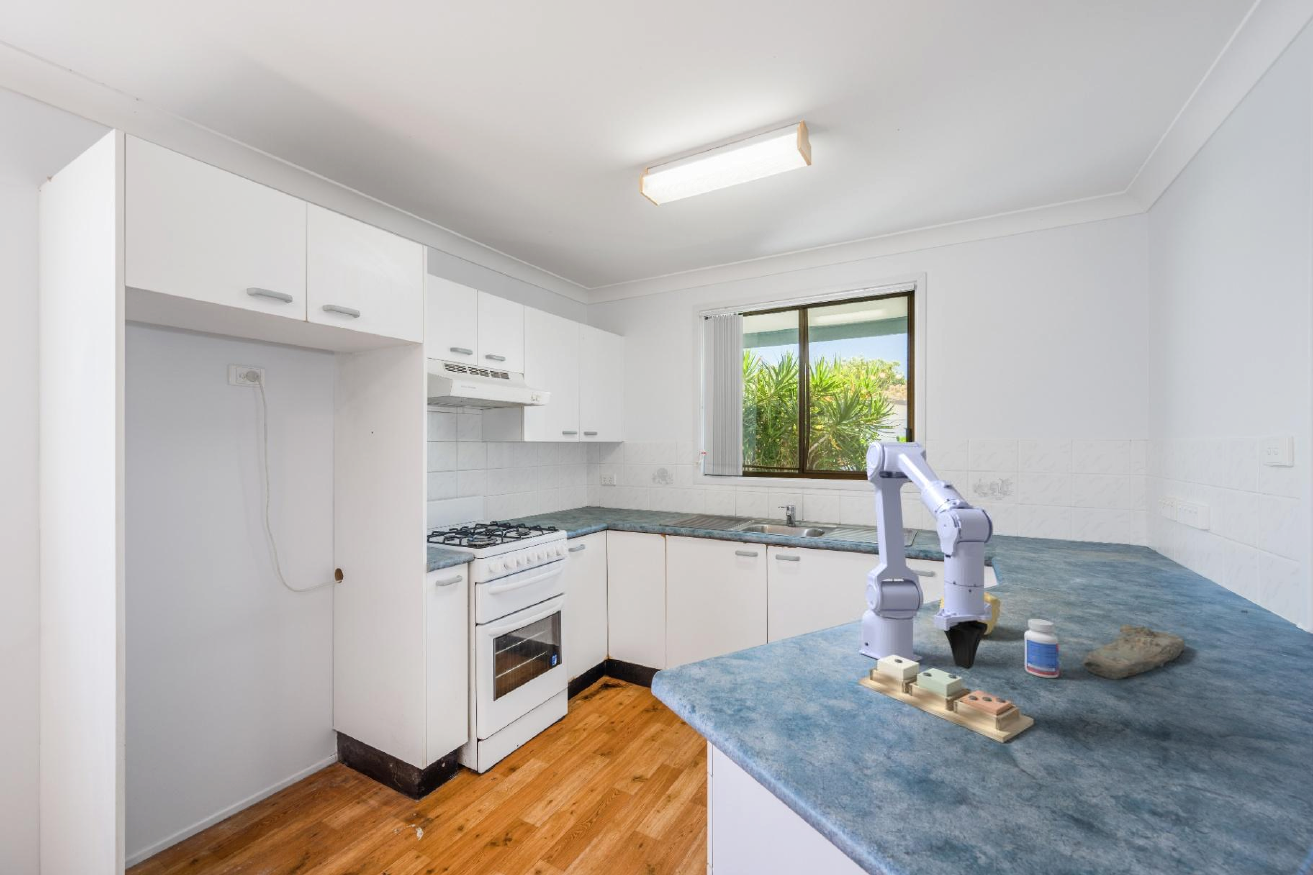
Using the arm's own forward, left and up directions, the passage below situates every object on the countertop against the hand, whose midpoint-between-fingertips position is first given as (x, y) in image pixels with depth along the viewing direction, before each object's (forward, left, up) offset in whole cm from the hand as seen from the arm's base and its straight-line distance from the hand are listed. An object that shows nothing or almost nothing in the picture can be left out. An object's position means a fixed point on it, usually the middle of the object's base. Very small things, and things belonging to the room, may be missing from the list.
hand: (963, 666), depth 90 cm
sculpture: (-20, +42, -8) cm, 47 cm away
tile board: (-4, 0, -7) cm, 8 cm away
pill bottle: (0, +29, -8) cm, 30 cm away
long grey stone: (+8, +54, -8) cm, 55 cm away
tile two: (-4, 0, -5) cm, 7 cm away
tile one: (-11, 0, -5) cm, 13 cm away
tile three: (+4, 0, -6) cm, 7 cm away
